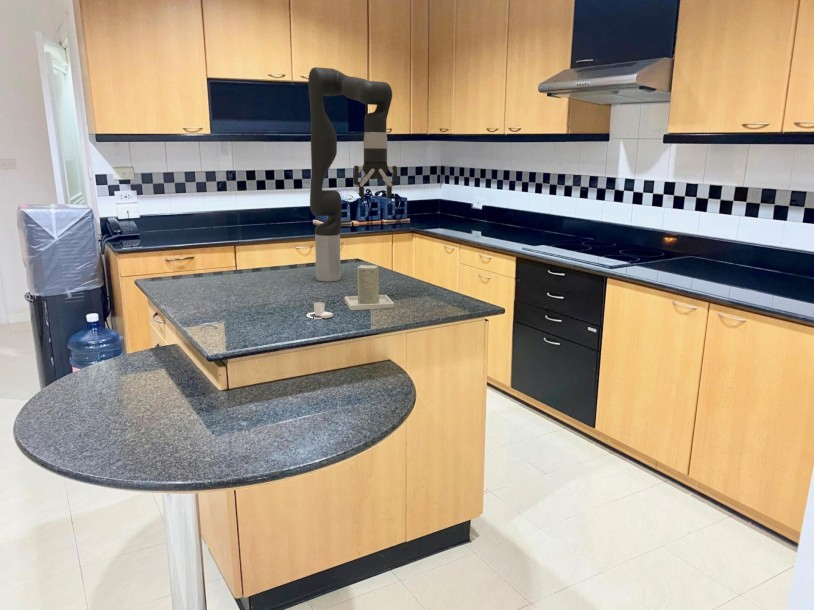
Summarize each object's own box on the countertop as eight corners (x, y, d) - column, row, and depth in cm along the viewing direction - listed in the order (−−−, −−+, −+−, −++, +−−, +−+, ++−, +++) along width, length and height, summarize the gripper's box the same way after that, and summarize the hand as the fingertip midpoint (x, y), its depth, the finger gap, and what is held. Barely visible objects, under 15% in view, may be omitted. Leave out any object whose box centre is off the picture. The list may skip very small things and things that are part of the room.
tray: (344, 300, 212) (344, 296, 211) (386, 299, 215) (386, 294, 215) (350, 310, 200) (350, 305, 200) (394, 308, 204) (394, 303, 203)
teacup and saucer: (335, 320, 191) (335, 306, 190) (308, 321, 189) (308, 308, 188) (330, 312, 199) (330, 299, 198) (304, 314, 197) (304, 301, 196)
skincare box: (379, 302, 209) (379, 265, 206) (375, 305, 205) (376, 268, 202) (360, 301, 210) (360, 264, 207) (356, 304, 206) (356, 267, 203)
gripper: (394, 147, 211) (393, 197, 215) (351, 146, 207) (351, 197, 212) (399, 147, 204) (399, 199, 208) (355, 147, 200) (355, 199, 205)
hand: (375, 198), depth 210 cm, fingers open, 8 cm apart
